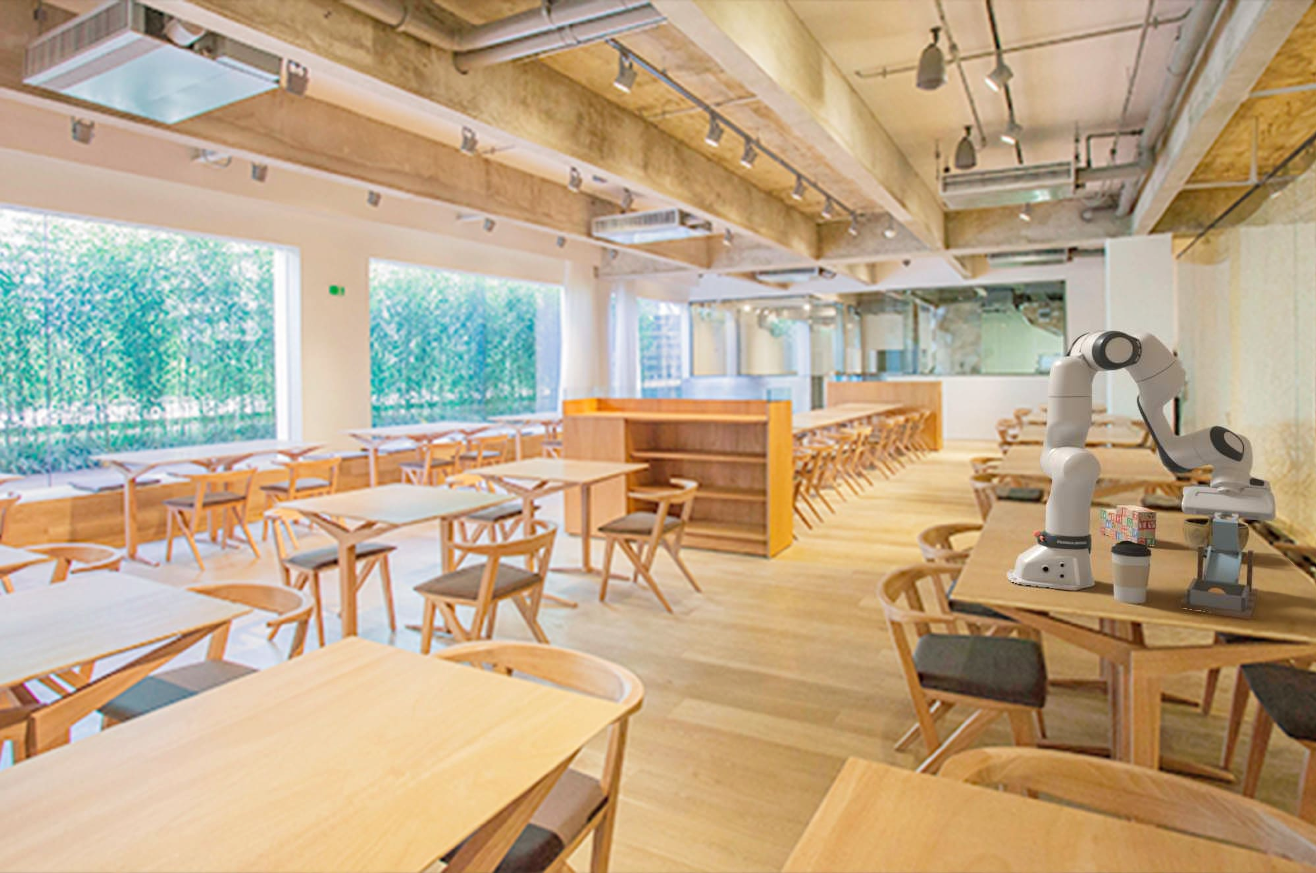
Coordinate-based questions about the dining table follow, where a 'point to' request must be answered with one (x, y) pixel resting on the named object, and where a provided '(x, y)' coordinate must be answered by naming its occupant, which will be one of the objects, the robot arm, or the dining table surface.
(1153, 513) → the stack of blocks
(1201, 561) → the walnut lever base
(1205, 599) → the bin
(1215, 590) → the orange ball
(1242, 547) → the ceramic bowl
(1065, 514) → the robot arm
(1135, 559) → the coffee cup
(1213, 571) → the tipping lever
